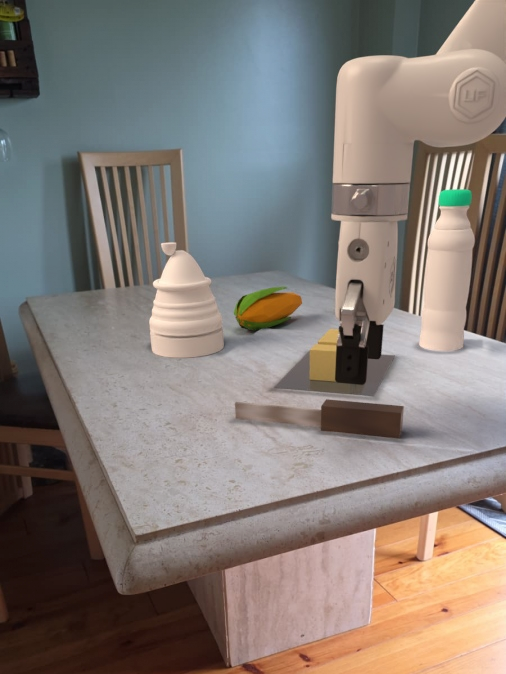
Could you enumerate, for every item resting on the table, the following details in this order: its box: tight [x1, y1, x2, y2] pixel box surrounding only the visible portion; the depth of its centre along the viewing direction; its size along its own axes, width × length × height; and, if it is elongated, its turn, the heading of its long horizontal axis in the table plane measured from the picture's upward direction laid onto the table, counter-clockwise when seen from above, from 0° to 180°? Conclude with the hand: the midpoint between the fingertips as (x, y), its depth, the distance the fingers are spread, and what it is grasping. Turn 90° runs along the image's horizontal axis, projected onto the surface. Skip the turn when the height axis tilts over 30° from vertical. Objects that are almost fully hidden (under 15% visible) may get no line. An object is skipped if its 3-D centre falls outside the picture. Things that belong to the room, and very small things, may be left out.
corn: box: [233, 286, 303, 331], centre depth 124 cm, size 7×8×20 cm
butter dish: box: [273, 350, 396, 397], centre depth 93 cm, size 14×20×1 cm
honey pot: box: [148, 241, 225, 359], centre depth 107 cm, size 13×13×18 cm
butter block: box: [317, 328, 339, 345], centre depth 95 cm, size 6×8×4 cm
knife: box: [234, 398, 405, 440], centre depth 73 cm, size 20×2×4 cm, turn 71°
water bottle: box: [418, 188, 476, 352], centre depth 99 cm, size 7×7×25 cm
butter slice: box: [309, 343, 336, 382], centre depth 89 cm, size 6×3×4 cm, turn 71°
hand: (359, 369), depth 69 cm, fingers open, 9 cm apart
